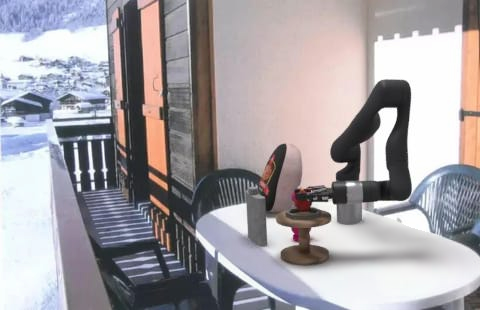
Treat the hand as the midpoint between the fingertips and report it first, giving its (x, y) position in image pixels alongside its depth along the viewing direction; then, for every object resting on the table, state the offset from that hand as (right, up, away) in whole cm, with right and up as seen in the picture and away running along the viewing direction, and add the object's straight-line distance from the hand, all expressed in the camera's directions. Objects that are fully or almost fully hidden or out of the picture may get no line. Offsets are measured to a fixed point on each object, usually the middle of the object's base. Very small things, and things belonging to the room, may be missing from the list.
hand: (294, 194), depth 180 cm
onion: (+3, -6, +1) cm, 7 cm away
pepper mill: (+5, -18, +21) cm, 28 cm away
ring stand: (+4, -21, +3) cm, 21 cm away
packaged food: (0, -12, +62) cm, 63 cm away
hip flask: (-12, -19, +23) cm, 32 cm away
